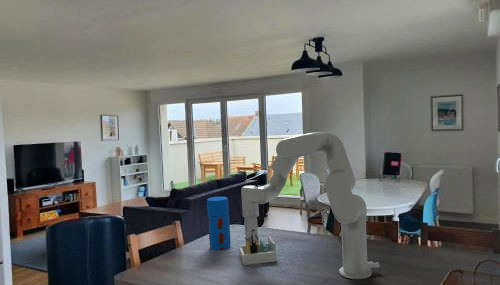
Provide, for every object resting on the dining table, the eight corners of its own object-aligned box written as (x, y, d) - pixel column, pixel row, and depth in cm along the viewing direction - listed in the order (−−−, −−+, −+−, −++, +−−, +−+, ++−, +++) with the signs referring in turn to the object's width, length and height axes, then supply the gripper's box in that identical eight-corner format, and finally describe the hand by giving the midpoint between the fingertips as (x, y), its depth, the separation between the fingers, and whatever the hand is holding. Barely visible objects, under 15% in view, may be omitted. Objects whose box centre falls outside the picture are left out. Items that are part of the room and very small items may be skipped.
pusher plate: (263, 250, 185) (262, 239, 184) (267, 258, 174) (267, 246, 174) (260, 251, 185) (259, 239, 184) (264, 258, 174) (264, 246, 173)
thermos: (211, 251, 192) (208, 201, 190) (208, 245, 202) (205, 198, 201) (233, 248, 194) (230, 199, 193) (228, 242, 205) (225, 195, 204)
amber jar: (258, 251, 182) (257, 234, 182) (260, 255, 176) (259, 238, 175) (245, 252, 181) (244, 235, 181) (247, 256, 175) (246, 239, 175)
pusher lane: (270, 251, 187) (269, 235, 186) (276, 261, 173) (275, 244, 173) (239, 254, 185) (238, 238, 184) (243, 265, 171) (242, 247, 170)
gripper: (240, 209, 185) (242, 246, 186) (245, 217, 168) (247, 258, 169) (255, 208, 187) (257, 244, 187) (262, 216, 170) (264, 256, 170)
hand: (252, 250), depth 178 cm, fingers closed on amber jar, 6 cm apart
